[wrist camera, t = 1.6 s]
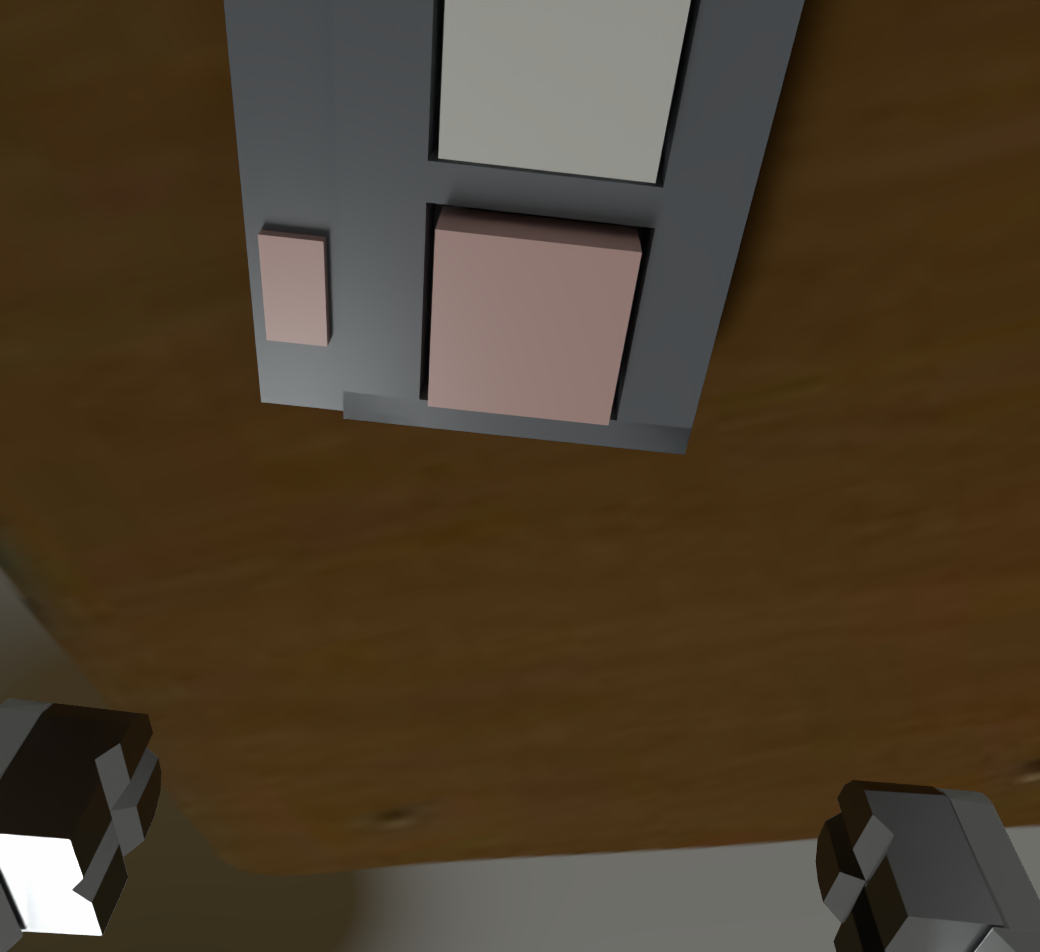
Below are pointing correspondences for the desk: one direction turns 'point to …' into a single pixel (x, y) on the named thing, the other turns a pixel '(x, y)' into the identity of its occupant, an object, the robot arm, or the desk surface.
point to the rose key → (529, 314)
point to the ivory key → (560, 83)
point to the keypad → (442, 182)
